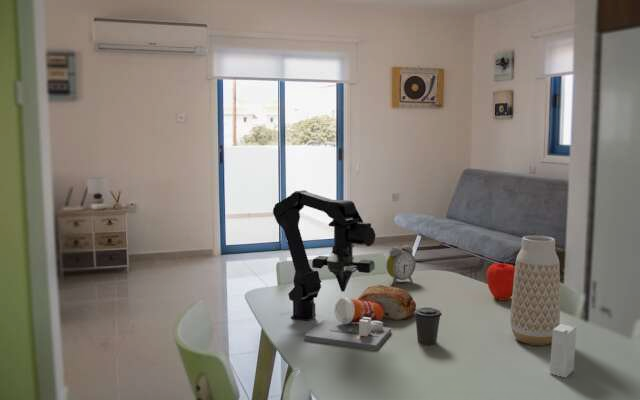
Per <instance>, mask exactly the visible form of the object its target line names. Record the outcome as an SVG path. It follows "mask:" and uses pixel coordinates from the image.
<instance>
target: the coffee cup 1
mask: <svg viewBox="0 0 640 400" xmlns="http://www.w3.org/2000/svg"><path fill="white" fill-rule="evenodd" d="M334 315H335V319H336V321H339V322H341V323H343V324H348V323H356V324H359V321H360V320H361V318H363V317H368V318H371V321H381V320H382V319H383V318H382V317H383V308H382V306H381V305H380V304H379V303H374V302H368V301H362V300H357V299H354V298H350V297H346V296H345V297H342V298H341V297H340V298H339V300H338V301H337V302H336V304H335V307H334Z"/></svg>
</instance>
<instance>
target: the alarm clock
mask: <svg viewBox="0 0 640 400" xmlns="http://www.w3.org/2000/svg"><path fill="white" fill-rule="evenodd" d="M413 252H414V249H413V247H412V246H411V245H410V244H405V245H403V246H401V248H400V247H399V246H392V247H391V248H390V249H389V255H388V257H387V260H386V272H387V273H388V275H389V276H390V277H392V285H395V284H396V282H397V280H400V281H405V280H409V281H410V282H413V278H412V275H413V274H414V272H415V270H416V258H415V256H414V255H413Z"/></svg>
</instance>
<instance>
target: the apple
mask: <svg viewBox="0 0 640 400" xmlns="http://www.w3.org/2000/svg"><path fill="white" fill-rule="evenodd" d="M514 274H515V265H513V264H510V263H504V262H495V263H493V264H491V265H490V266H489V267H488V268H487V271H486V283H487V287H488V289H489V291H490V293H491V295H492V297H494V299H496V300H498V299H501V300H500V301H507V300H509V299H510V298H512V294H513V284H514ZM506 299H507V300H506Z"/></svg>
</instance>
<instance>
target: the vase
mask: <svg viewBox="0 0 640 400" xmlns="http://www.w3.org/2000/svg"><path fill="white" fill-rule="evenodd" d="M560 265H561V263H560V259H559V257H558V254H557V252H556V239H555V238H553V237H551V236H544V235H524V236H523V237H522V238H521V248H520V250H519V252H518V254H517V256H516V259H515V265H514V266H515V274H514V284H513V294H512V296H511V305H510V306H511V307H510V328H511V331H512V333H513V336H514V337H515V338H516V339H517V340H518V341H519V342H521V343H523V344H526V343H527V345H530V344H533V345H532V346H547V345H550V344H552V335H553V329H555V328H556V327H557V326H559V325H560V324H561V322H560V320H561V297H560V296H561V293H560V292H561V280H560V279H561V276H560V275H561V274H560V269H561V268H560ZM549 343H550V344H549ZM546 344H547V345H546Z"/></svg>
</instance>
